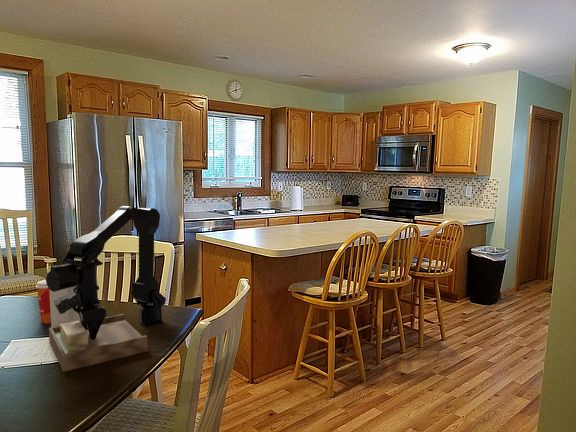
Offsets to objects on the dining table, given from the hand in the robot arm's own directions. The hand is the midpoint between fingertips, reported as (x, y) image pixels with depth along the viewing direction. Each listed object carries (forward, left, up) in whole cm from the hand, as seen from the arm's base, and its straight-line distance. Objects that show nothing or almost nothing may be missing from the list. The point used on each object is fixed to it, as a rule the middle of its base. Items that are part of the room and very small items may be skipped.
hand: (89, 334), depth 125 cm
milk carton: (+2, -23, -4) cm, 24 cm away
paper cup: (+6, -33, -4) cm, 34 cm away
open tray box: (-2, 0, -4) cm, 5 cm away
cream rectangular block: (+4, 0, -1) cm, 4 cm away
